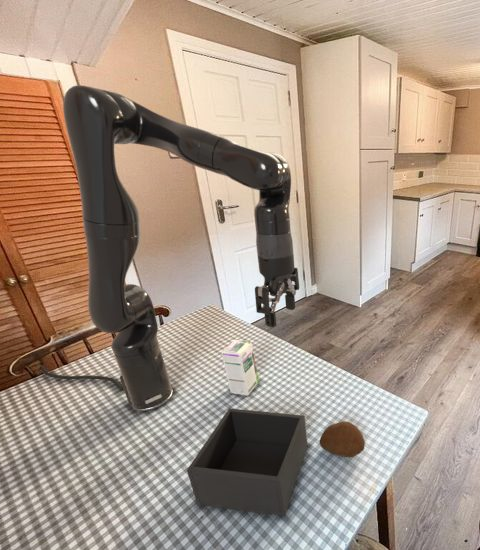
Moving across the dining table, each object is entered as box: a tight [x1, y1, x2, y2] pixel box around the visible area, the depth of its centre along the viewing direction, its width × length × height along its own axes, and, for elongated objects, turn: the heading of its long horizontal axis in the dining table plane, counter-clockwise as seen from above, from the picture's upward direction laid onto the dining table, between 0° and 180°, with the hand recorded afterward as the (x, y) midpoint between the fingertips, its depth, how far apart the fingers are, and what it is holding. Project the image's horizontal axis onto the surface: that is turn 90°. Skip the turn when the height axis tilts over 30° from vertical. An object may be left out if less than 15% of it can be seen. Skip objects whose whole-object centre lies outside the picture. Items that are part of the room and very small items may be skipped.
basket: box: [186, 407, 308, 517], centre depth 63 cm, size 18×15×10 cm
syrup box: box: [221, 339, 260, 396], centre depth 85 cm, size 6×6×14 cm
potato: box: [319, 420, 366, 459], centre depth 69 cm, size 7×10×7 cm
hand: (281, 317), depth 71 cm, fingers open, 8 cm apart
